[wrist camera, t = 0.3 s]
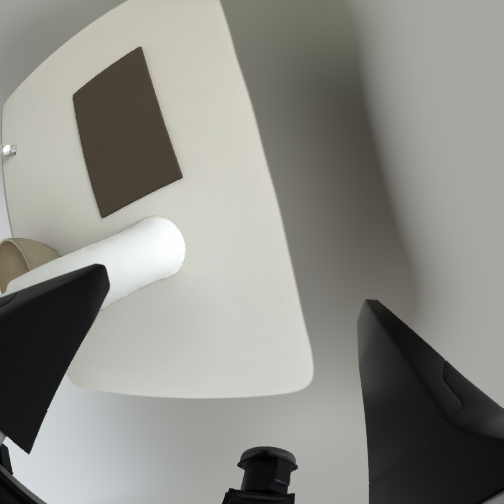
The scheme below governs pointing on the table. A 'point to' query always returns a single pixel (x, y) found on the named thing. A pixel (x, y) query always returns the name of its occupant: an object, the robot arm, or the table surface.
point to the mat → (124, 134)
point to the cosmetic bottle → (120, 259)
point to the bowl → (22, 258)
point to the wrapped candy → (8, 149)
